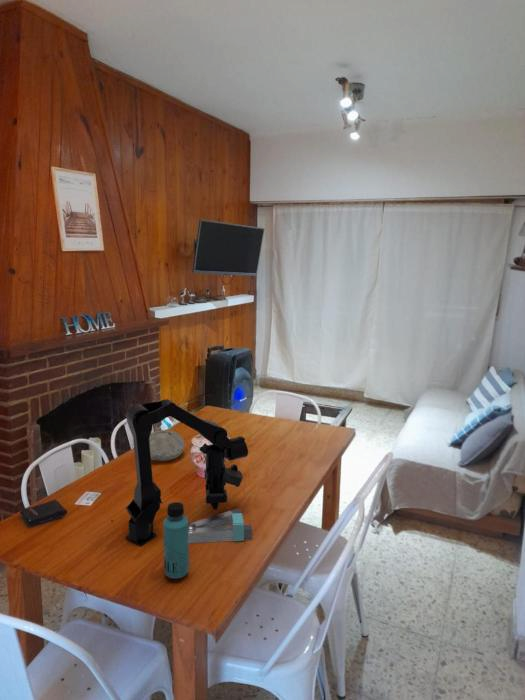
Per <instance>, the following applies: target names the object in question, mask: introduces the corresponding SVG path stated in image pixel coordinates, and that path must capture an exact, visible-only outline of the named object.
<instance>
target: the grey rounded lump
mask: <svg viewBox="0 0 525 700" xmlns="http://www.w3.org/2000/svg"><path fill="white" fill-rule="evenodd" d="M149 442H150V454H151V461H161V462H166V461H171V460H174V459H176V458H178V457H180V456H181V455H182V454H183V452H184V450H185V448H186V447H185V443H186V440H185V439H184V438H183V437H182V435H181V434H179V433H178V432H176V430H174V431H173V430H167V429H165V430H164V429H161V430H155V431H154V432H153V431H152V432H151V434H150V437H149Z"/></svg>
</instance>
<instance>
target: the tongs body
mask: <svg viewBox="0 0 525 700" xmlns="http://www.w3.org/2000/svg"><path fill="white" fill-rule="evenodd" d="M249 539H250V540H252V539H253V528H252V524H244V541H246V540H249ZM229 541H230V542H231V541H233V525H227V526H220V527H204V528H196V525H195V524H194V523H193V522H191V523H189V522H188V545H189V544H204V543H218V542H229ZM233 542H234V541H233Z"/></svg>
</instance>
